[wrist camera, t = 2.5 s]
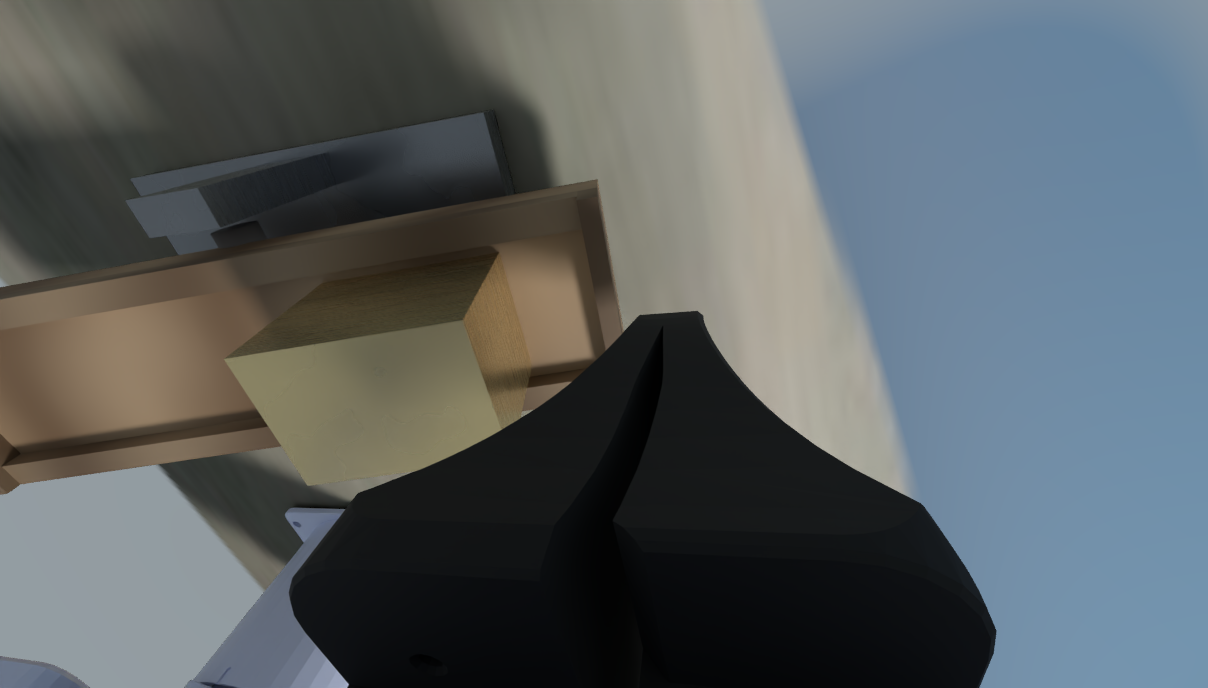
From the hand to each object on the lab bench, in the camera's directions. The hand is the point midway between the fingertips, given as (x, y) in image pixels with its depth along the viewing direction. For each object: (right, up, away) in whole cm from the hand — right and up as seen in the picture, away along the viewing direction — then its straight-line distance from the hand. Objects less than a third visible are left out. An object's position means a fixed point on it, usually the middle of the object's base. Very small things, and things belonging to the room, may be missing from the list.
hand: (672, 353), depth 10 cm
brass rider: (-6, +1, +3) cm, 7 cm away
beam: (-11, +1, +5) cm, 13 cm away
